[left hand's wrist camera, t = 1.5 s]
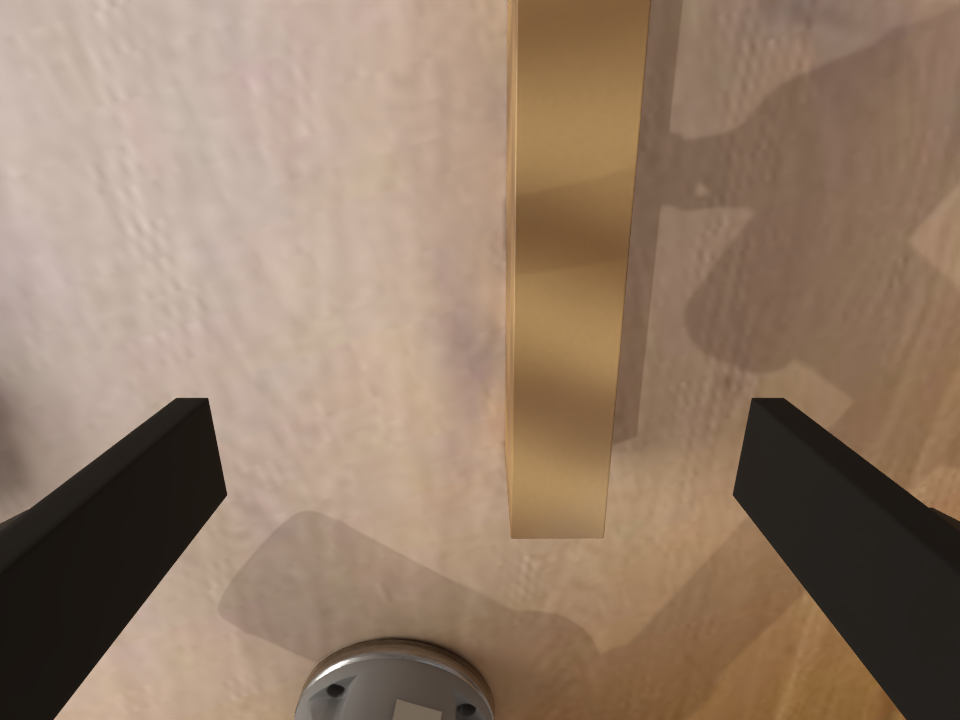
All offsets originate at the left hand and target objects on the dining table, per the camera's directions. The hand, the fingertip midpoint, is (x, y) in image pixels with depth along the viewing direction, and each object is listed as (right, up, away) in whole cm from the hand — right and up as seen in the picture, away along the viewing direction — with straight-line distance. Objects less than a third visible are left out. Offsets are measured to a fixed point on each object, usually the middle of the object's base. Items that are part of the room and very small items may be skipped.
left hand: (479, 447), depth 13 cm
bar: (+4, +31, +7) cm, 32 cm away
